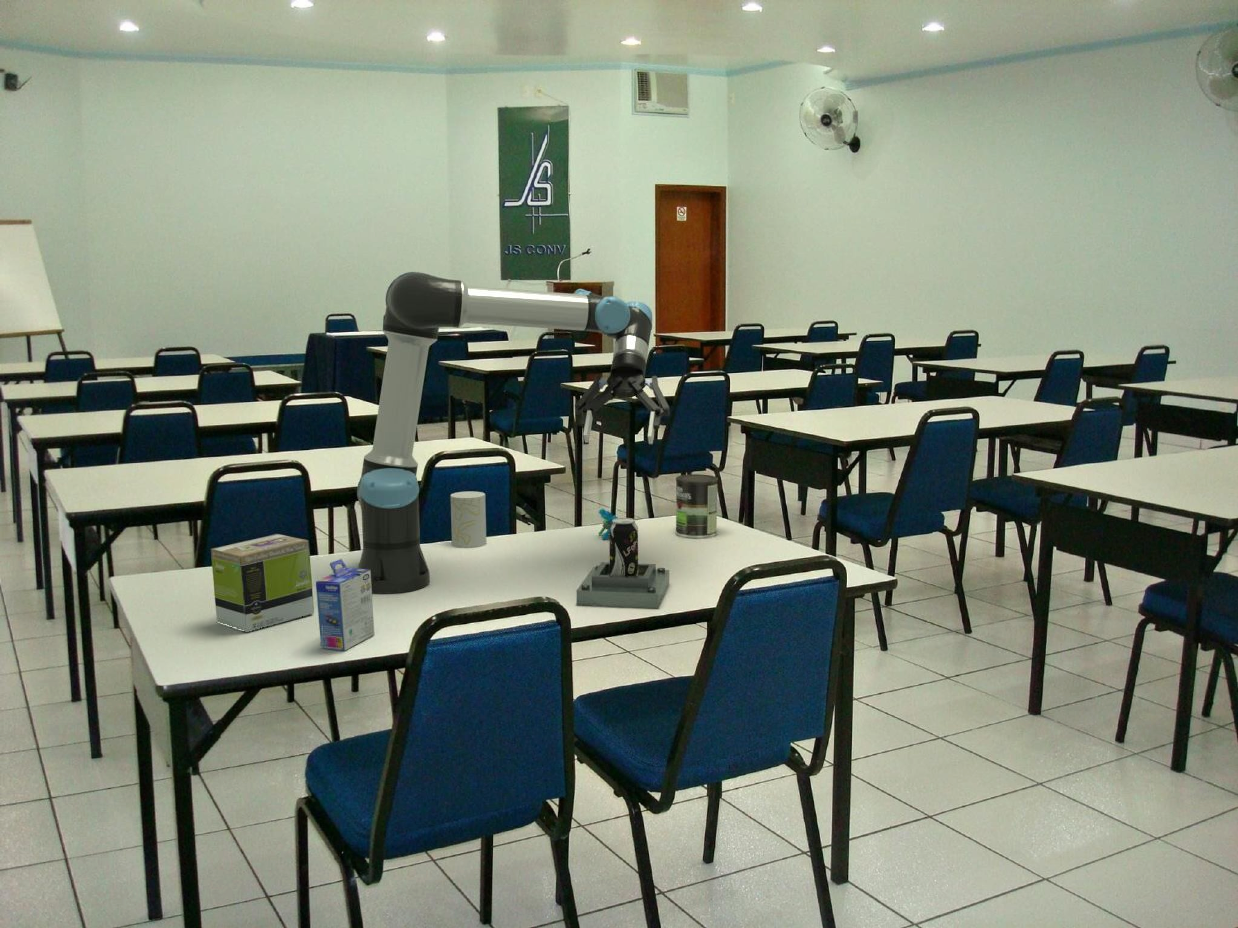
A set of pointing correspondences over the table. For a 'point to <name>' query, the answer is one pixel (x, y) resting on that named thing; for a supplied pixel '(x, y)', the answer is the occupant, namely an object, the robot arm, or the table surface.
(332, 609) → the ink cartridge box
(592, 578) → the grey socket fixture
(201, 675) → the table surface
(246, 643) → the table surface
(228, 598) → the tea box
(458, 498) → the cup
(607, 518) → the blue lumpy piece
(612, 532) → the beverage can
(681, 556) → the table surface
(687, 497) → the coffee can
